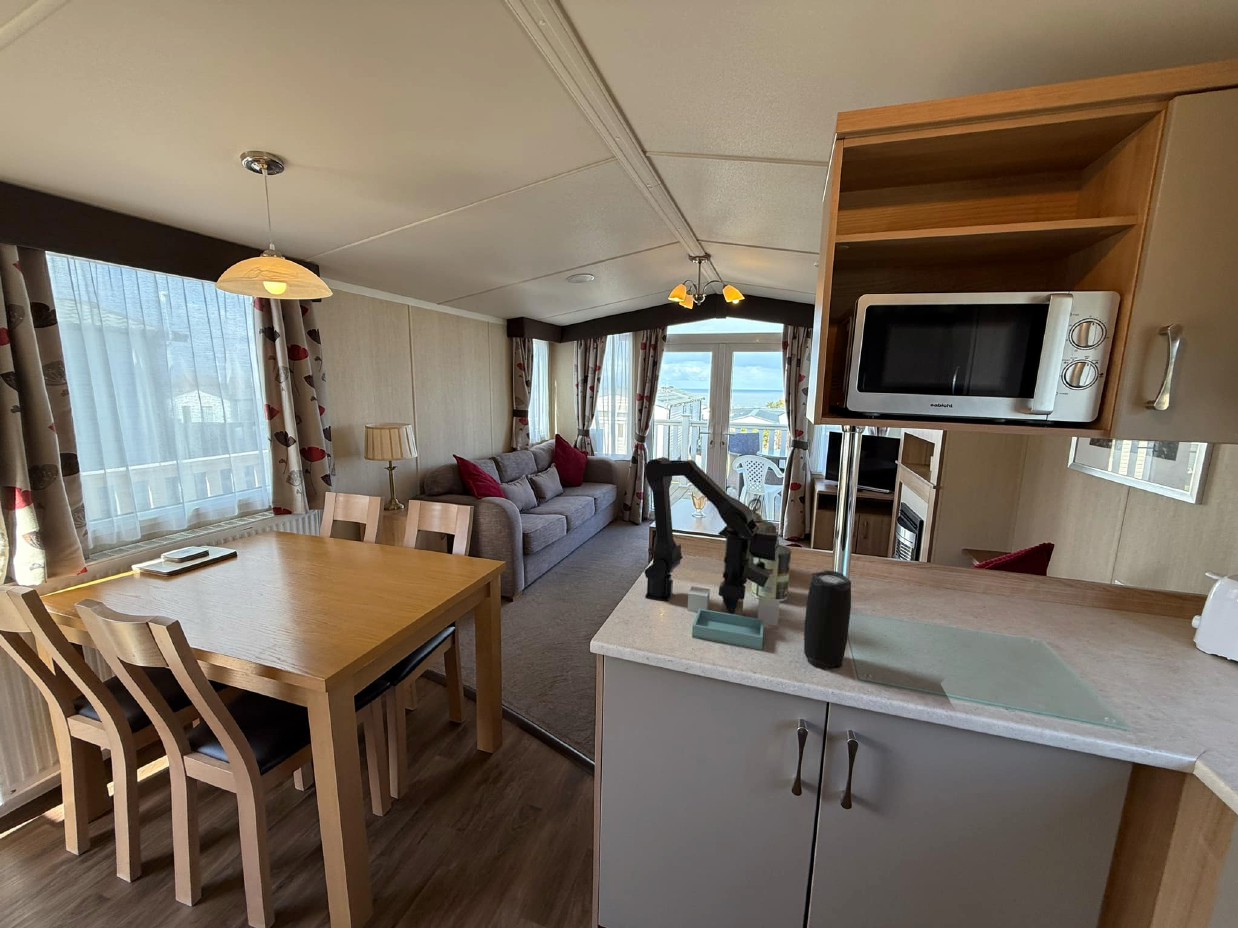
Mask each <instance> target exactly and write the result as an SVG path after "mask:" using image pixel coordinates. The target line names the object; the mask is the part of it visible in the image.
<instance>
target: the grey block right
mask: <svg viewBox="0 0 1238 928" xmlns="http://www.w3.org/2000/svg"><path fill="white" fill-rule="evenodd" d="M757 607H758V609H757V618H758V619H764V624H765V625H770V626H775V627H778V626H779V613H780V602H779V600H778V599H771V598H765V597H759V599H758V606H757ZM764 624H763V625H764Z"/></svg>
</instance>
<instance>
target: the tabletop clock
mask: <svg viewBox="0 0 1238 928" xmlns="http://www.w3.org/2000/svg"><path fill="white" fill-rule="evenodd" d="M755 501H756V502H759V505H758V507H756V506H753V507H752V509H751V511H752V518H753V520H754V521H755V523H756V524H757V526H758V528H759V529H760V530H759V531H758V532H765V533H775V534H777V526H776V525H775V524H774V523H773V522H771V521H767V520H765V519H763V518H762V516H761V514H760V513H759V512H757V511H759V510H760V508H761V507H762V501H761V499H759V498H753V499H751V500H750V501H749V502H748V504H747V507H749V508H750V506H751V504H752V503H753V502H755ZM748 529H749V528H748ZM749 544H750V540H749ZM749 544H748V558H749V562H750V563H752V564H753V563H754V557H753V555H751V554H750V552H749Z"/></svg>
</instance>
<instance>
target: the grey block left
mask: <svg viewBox="0 0 1238 928" xmlns="http://www.w3.org/2000/svg"><path fill="white" fill-rule="evenodd" d="M710 592H711V589H710V588H704V587H698V586H691V587H690V589H689V591H688V593H687V594H688V595H687V596H688V597H687V598H688V599H687V611H688V612H692V613H693V612H694V613H697V612H698V610H699V609H704V610H709V608H710V595H711V593H710Z"/></svg>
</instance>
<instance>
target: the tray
mask: <svg viewBox="0 0 1238 928" xmlns="http://www.w3.org/2000/svg"><path fill="white" fill-rule="evenodd" d="M691 631H692V632H691V637H692V638H694V639H700V640H705V641H706V640H707V641H710V642H717V643H721V642H722V643H723V644H726V645H727V644H728V645H732V646H738V647H743V648H748V649H755V650H760V651H762V649H763V637H764V636H763V635H764V619H758V617H752V616H751V617H750V616H746V615H742V616H740V615H734V614H728V613H722V611H715V610H711V609H708V610H704V609H699V610H698V612H696V615H695V618H694V621H693V623H692V630H691ZM722 643H721V644H722Z"/></svg>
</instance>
